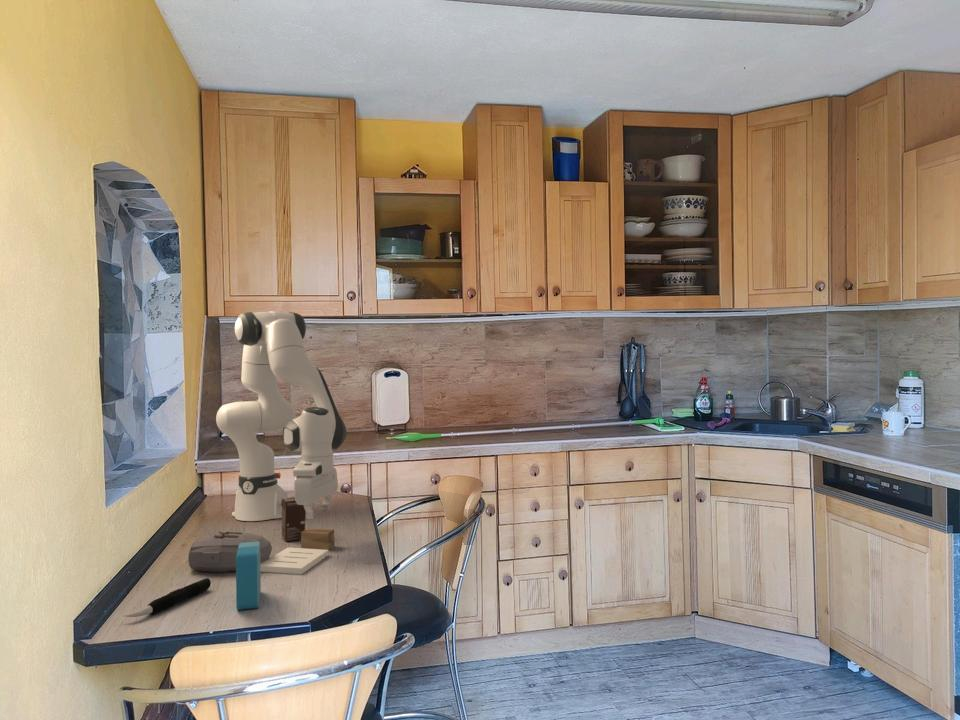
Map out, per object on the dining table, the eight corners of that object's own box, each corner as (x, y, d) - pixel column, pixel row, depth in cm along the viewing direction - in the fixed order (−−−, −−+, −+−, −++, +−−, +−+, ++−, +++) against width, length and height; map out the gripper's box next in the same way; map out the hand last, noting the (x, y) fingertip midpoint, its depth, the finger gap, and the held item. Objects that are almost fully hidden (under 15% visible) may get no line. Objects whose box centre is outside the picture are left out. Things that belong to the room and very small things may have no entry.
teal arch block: (240, 593, 155) (239, 541, 155) (260, 591, 157) (260, 539, 156) (236, 612, 144) (235, 556, 144) (258, 610, 145) (258, 554, 145)
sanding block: (308, 545, 194) (308, 528, 194) (334, 547, 192) (334, 529, 192) (301, 550, 190) (301, 532, 189) (327, 551, 188) (327, 533, 188)
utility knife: (137, 625, 138) (137, 610, 138) (122, 622, 139) (122, 608, 139) (212, 590, 158) (212, 577, 158) (199, 588, 159) (198, 575, 159)
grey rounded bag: (182, 574, 168) (262, 574, 168) (181, 541, 168) (262, 540, 168) (206, 556, 183) (280, 555, 184) (205, 525, 183) (279, 525, 183)
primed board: (288, 552, 186) (287, 547, 186) (328, 555, 184) (328, 549, 184) (257, 571, 171) (257, 565, 171) (301, 574, 168) (301, 568, 168)
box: (286, 542, 197) (285, 501, 196) (281, 539, 200) (281, 498, 200) (306, 539, 200) (306, 498, 200) (301, 535, 204) (300, 496, 203)
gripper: (322, 459, 201) (323, 506, 201) (289, 470, 181) (290, 522, 181) (342, 460, 200) (343, 506, 200) (311, 471, 180) (312, 523, 180)
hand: (318, 514), depth 190 cm, fingers open, 8 cm apart
